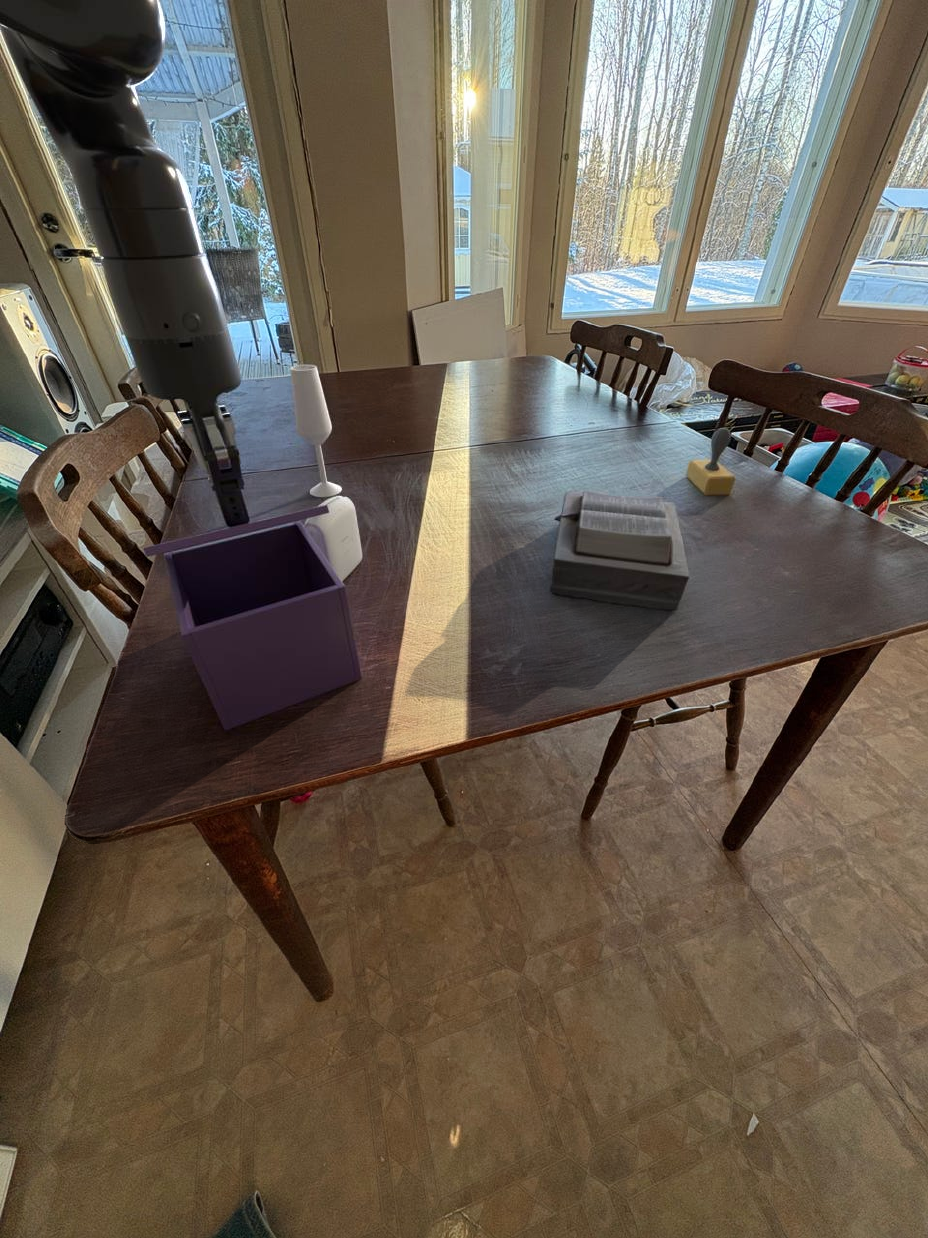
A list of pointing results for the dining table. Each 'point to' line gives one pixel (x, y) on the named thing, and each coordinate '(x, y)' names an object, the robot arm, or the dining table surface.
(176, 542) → the lid
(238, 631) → the box
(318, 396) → the champagne flute
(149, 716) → the dining table surface
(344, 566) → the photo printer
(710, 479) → the rubber stamp
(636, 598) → the bible
